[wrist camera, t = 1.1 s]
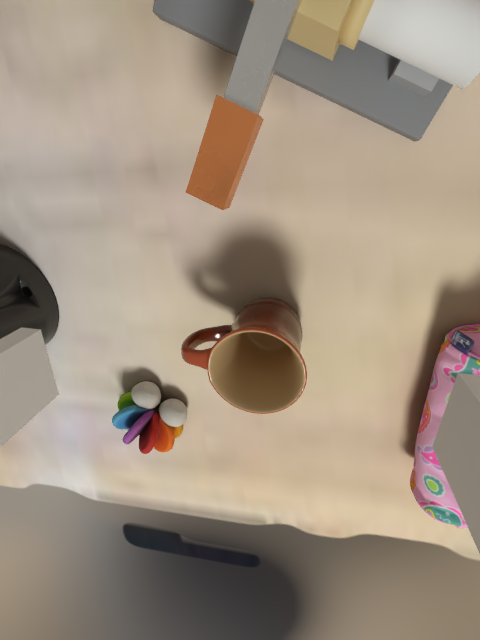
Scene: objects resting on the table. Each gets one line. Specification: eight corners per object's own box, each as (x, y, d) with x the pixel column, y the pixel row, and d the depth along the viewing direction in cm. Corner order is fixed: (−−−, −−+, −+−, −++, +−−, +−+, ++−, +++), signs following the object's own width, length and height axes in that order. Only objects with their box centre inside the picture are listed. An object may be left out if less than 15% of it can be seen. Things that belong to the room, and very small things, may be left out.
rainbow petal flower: (172, 440, 49) (150, 482, 42) (117, 405, 48) (87, 441, 42) (200, 407, 45) (180, 447, 38) (141, 368, 44) (111, 402, 38)
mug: (314, 293, 35) (314, 337, 26) (302, 362, 39) (299, 422, 29) (206, 280, 37) (171, 316, 28) (205, 347, 41) (174, 398, 31)
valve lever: (304, -157, 15) (303, -197, 13) (364, -129, 15) (370, -165, 13) (192, 189, 22) (183, 190, 20) (232, 208, 22) (225, 211, 20)
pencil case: (436, 310, 33) (475, 354, 25) (539, 316, 31) (616, 366, 23) (396, 462, 42) (415, 531, 34) (474, 474, 40) (514, 549, 32)
